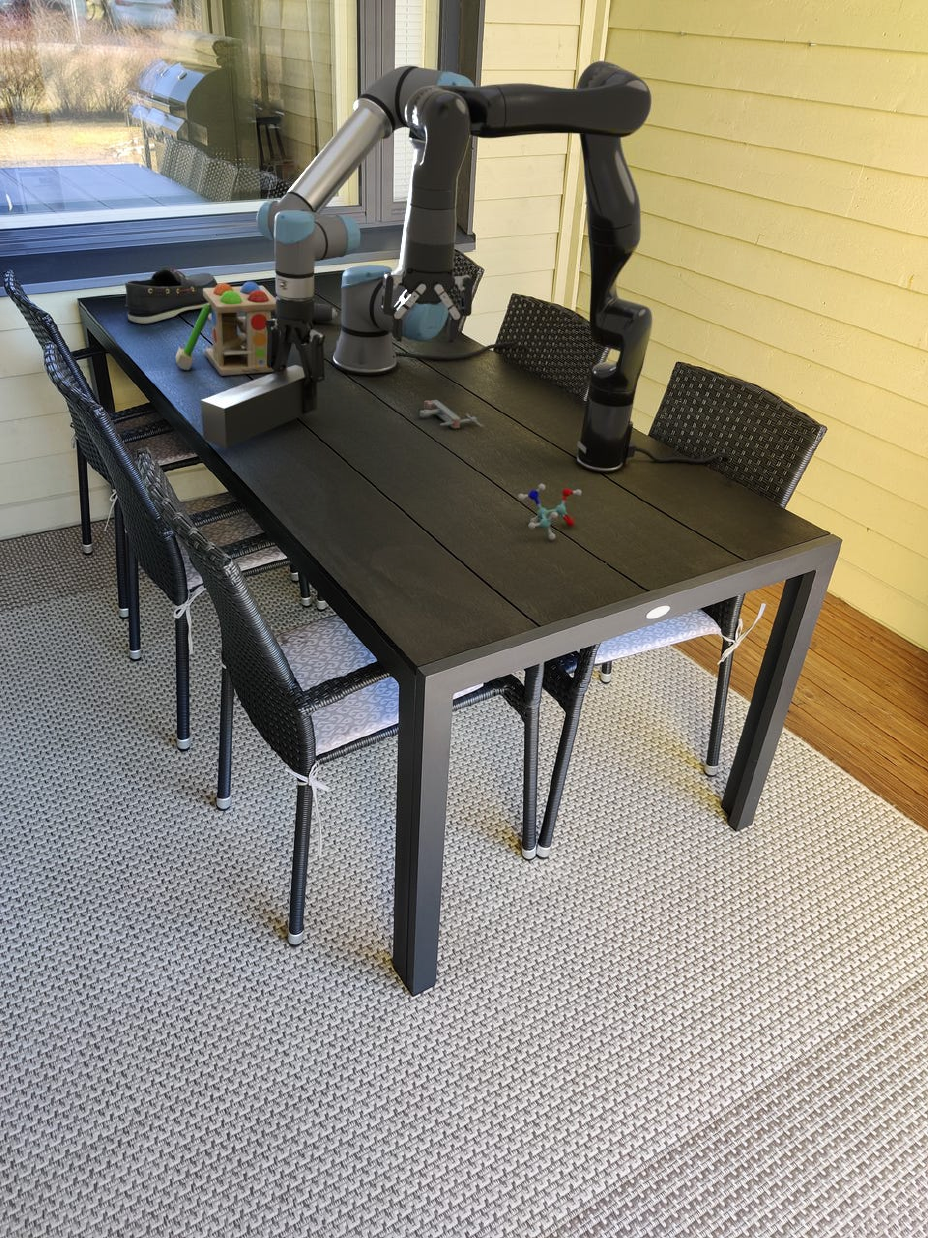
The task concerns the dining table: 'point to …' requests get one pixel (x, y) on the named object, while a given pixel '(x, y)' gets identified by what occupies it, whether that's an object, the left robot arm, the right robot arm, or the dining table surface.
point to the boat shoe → (166, 295)
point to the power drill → (318, 313)
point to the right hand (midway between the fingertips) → (424, 340)
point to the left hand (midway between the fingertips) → (295, 406)
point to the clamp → (446, 414)
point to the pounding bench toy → (233, 329)
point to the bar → (254, 407)
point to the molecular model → (554, 512)
